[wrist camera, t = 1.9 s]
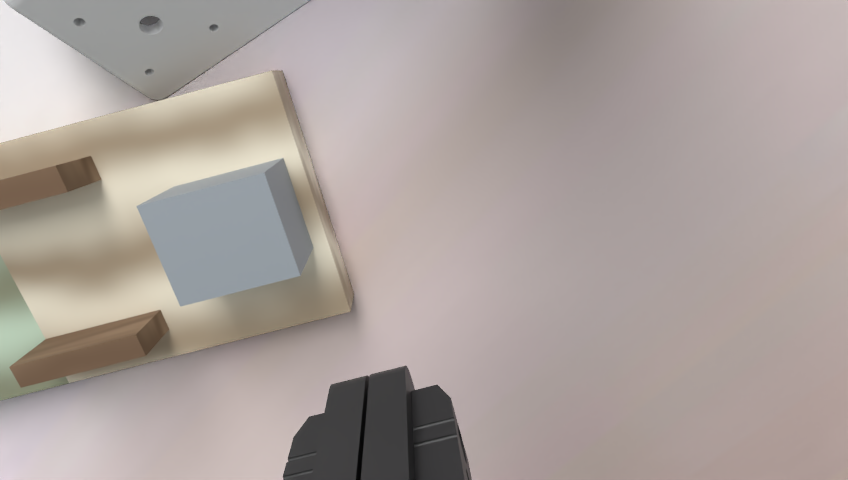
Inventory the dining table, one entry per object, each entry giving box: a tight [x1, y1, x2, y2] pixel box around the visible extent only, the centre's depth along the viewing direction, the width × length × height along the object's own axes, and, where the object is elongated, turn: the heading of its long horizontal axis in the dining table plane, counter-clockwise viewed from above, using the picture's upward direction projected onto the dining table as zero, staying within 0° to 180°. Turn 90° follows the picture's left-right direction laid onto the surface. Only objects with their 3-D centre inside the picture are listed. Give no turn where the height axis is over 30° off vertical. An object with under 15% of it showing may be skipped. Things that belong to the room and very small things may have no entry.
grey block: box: [136, 158, 314, 307], centre depth 31 cm, size 6×7×5 cm
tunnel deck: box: [0, 71, 354, 401], centre depth 33 cm, size 16×35×6 cm, turn 104°
